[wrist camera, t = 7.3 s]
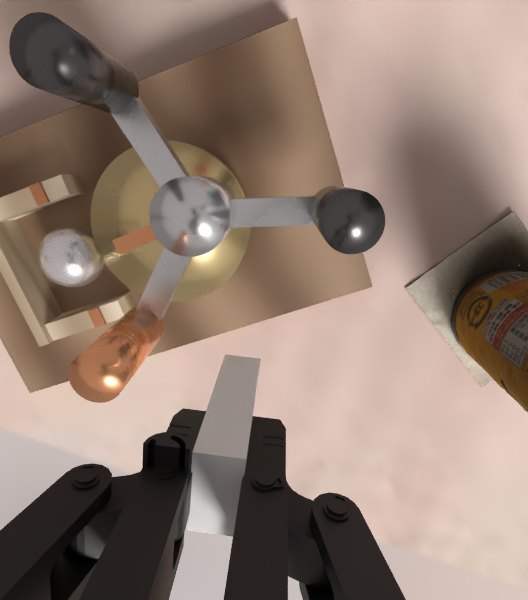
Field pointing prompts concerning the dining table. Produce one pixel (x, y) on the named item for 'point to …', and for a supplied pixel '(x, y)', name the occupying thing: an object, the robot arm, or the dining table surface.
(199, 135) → the stand
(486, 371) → the condiment
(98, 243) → the capstan
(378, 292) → the dining table surface
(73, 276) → the ball
